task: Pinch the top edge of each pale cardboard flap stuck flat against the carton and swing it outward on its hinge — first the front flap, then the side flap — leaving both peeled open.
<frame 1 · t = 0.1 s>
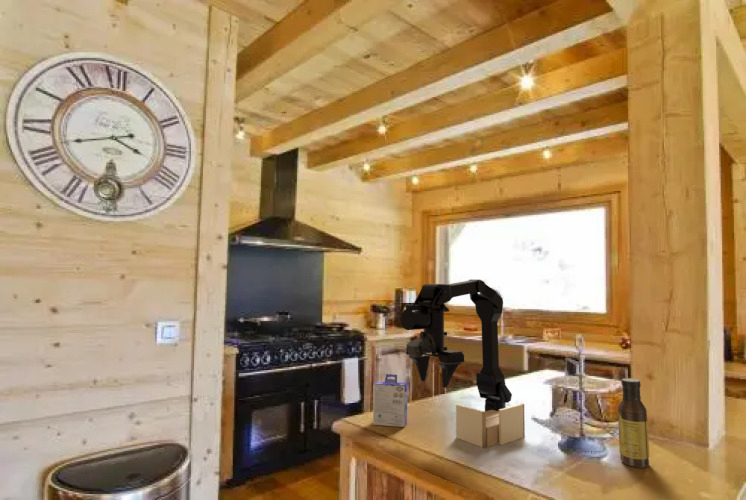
hand: (433, 384, 127), 14 cm above the counter, tool pointing down, fingers open, 9 cm apart
sauce bottle: (634, 464, 109), on the counter
carton: (489, 436, 128), on the counter
ink cartridge box: (390, 424, 138), on the counter
side flap: (512, 423, 125), point 5 cm above the counter, hinge at 0.0°
front flap: (470, 425, 123), point 5 cm above the counter, hinge at 0.0°
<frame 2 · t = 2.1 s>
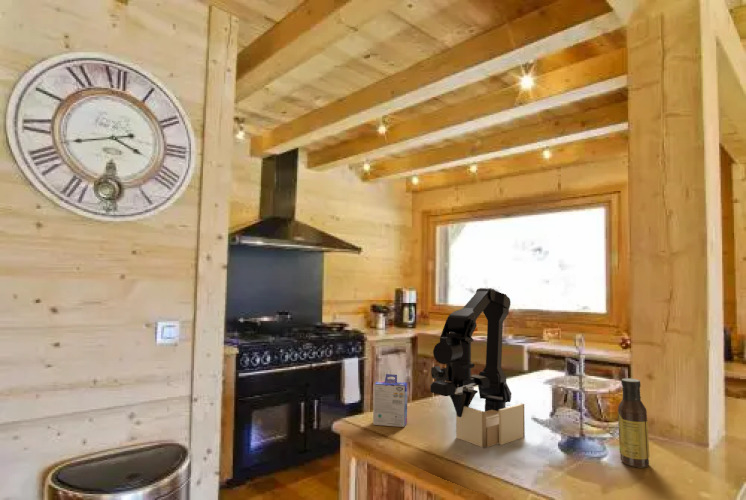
hand: (460, 416, 126), 6 cm above the counter, tool pointing down, fingers closed, pressing on front flap
front flap: (470, 425, 123), point 5 cm above the counter, hinge at 0.0°, touching gripper
everything else where it was.
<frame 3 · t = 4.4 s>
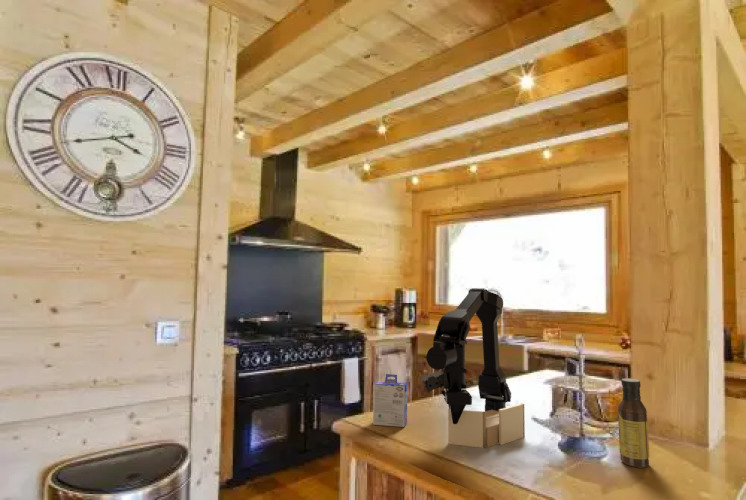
hand: (454, 422, 121), 6 cm above the counter, tool pointing down, fingers open, 3 cm apart
front flap: (467, 427, 121), point 5 cm above the counter, hinge at 35.7°, touching gripper
everything else where it was.
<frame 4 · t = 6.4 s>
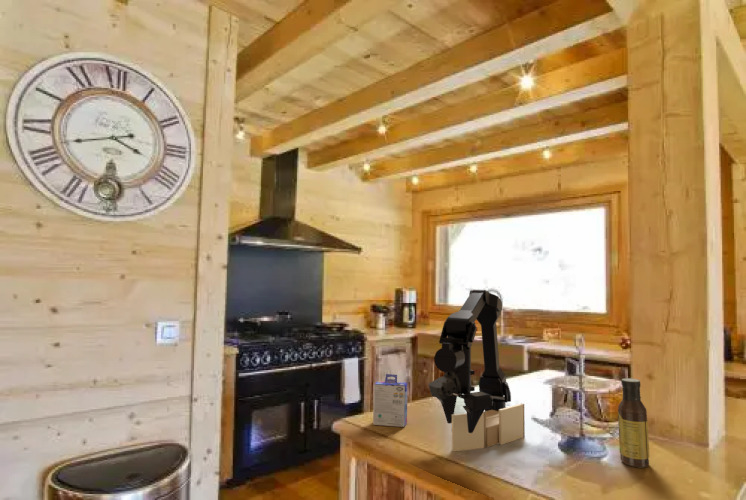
hand: (459, 427, 116), 6 cm above the counter, tool pointing down, fingers open, 8 cm apart
front flap: (469, 431, 118), point 5 cm above the counter, hinge at 70.5°
everything else where it was.
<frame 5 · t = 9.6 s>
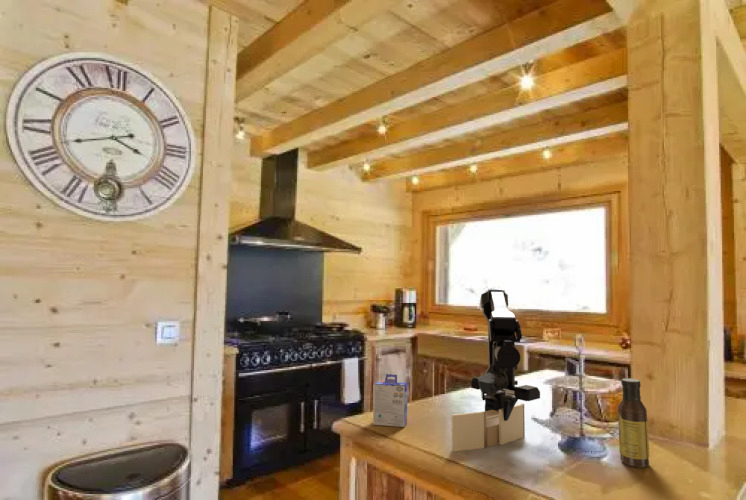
hand: (504, 420, 123), 6 cm above the counter, tool pointing down, fingers closed, pressing on side flap
side flap: (512, 423, 125), point 5 cm above the counter, hinge at 0.0°, touching gripper
everything else where it was.
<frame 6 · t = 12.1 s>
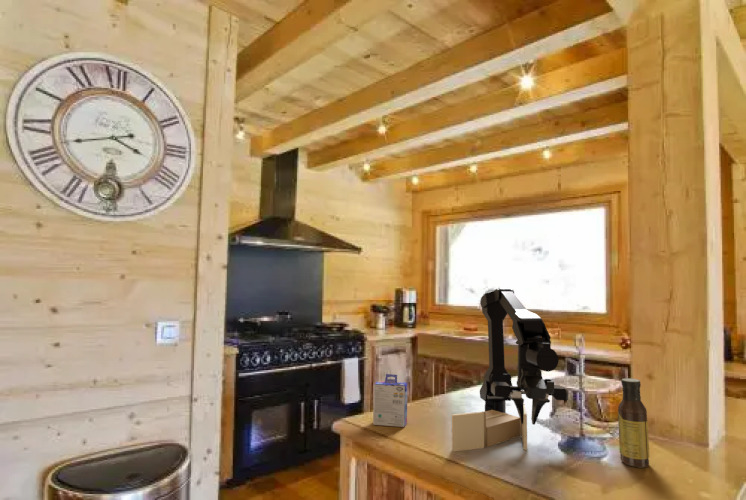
hand: (528, 423, 120), 6 cm above the counter, tool pointing down, fingers closed
side flap: (523, 425, 123), point 5 cm above the counter, hinge at 37.8°, touching gripper
everything else where it was.
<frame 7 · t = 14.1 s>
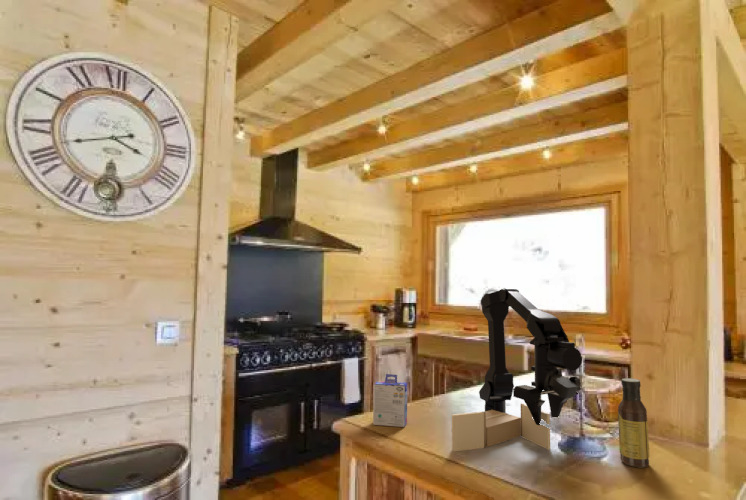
hand: (546, 423, 121), 6 cm above the counter, tool pointing down, fingers open, 6 cm apart
side flap: (534, 425, 123), point 5 cm above the counter, hinge at 73.1°
everything else where it was.
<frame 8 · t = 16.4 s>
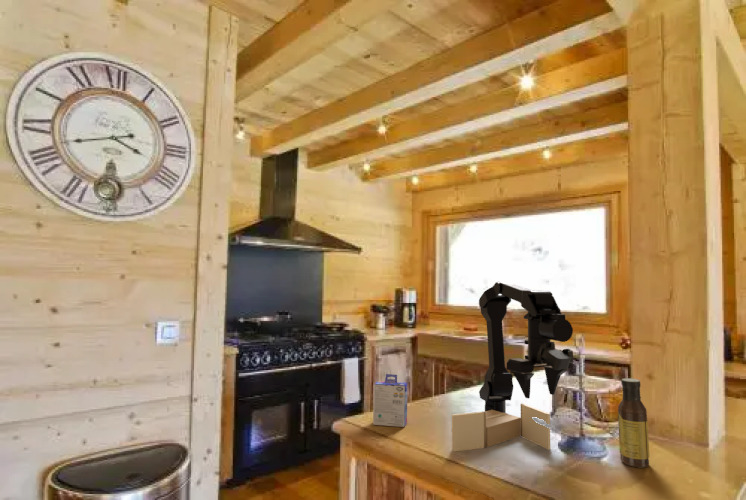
hand: (539, 396, 121), 13 cm above the counter, tool pointing down, fingers open, 9 cm apart
nothing on the counter moved.
at the end: front flap at +71° (first picture: +0°); side flap at +73° (first picture: +0°); the gripper is holding nothing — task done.
